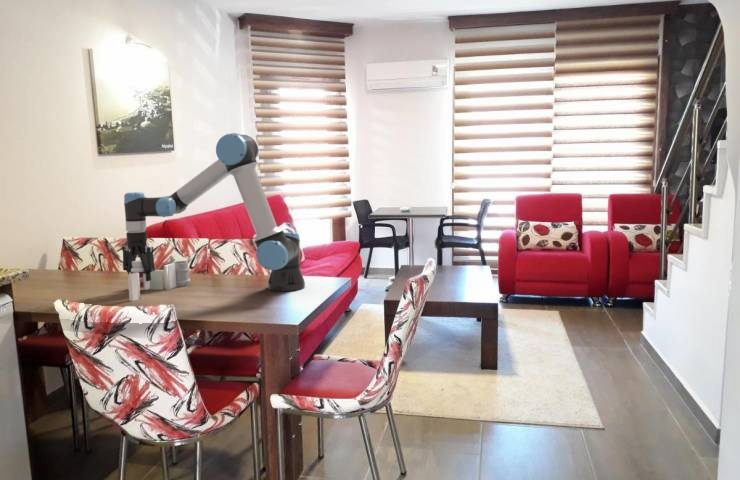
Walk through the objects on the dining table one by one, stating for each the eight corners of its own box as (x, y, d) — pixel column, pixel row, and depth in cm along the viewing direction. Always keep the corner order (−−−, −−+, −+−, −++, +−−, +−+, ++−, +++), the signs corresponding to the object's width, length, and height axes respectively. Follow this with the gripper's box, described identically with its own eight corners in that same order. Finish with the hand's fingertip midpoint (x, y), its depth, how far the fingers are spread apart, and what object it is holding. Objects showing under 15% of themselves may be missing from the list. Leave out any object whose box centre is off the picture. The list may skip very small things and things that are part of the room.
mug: (179, 287, 239) (177, 259, 238) (162, 284, 246) (160, 256, 245) (194, 284, 245) (193, 256, 244) (177, 281, 252) (176, 254, 251)
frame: (176, 287, 240) (175, 263, 239) (132, 301, 216) (131, 274, 215) (173, 286, 241) (171, 263, 239) (129, 300, 217) (127, 274, 215)
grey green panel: (161, 290, 234) (160, 271, 233) (130, 289, 237) (128, 270, 236) (164, 289, 237) (163, 269, 236) (133, 288, 239) (131, 269, 238)
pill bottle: (132, 291, 227) (130, 263, 225) (131, 288, 232) (130, 260, 231) (148, 289, 229) (146, 261, 228) (148, 286, 235) (146, 259, 233)
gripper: (162, 231, 228) (166, 287, 231) (123, 229, 234) (127, 285, 237) (149, 233, 221) (153, 291, 224) (110, 231, 227) (114, 288, 230)
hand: (140, 288), depth 231 cm, fingers closed on pill bottle, 6 cm apart
